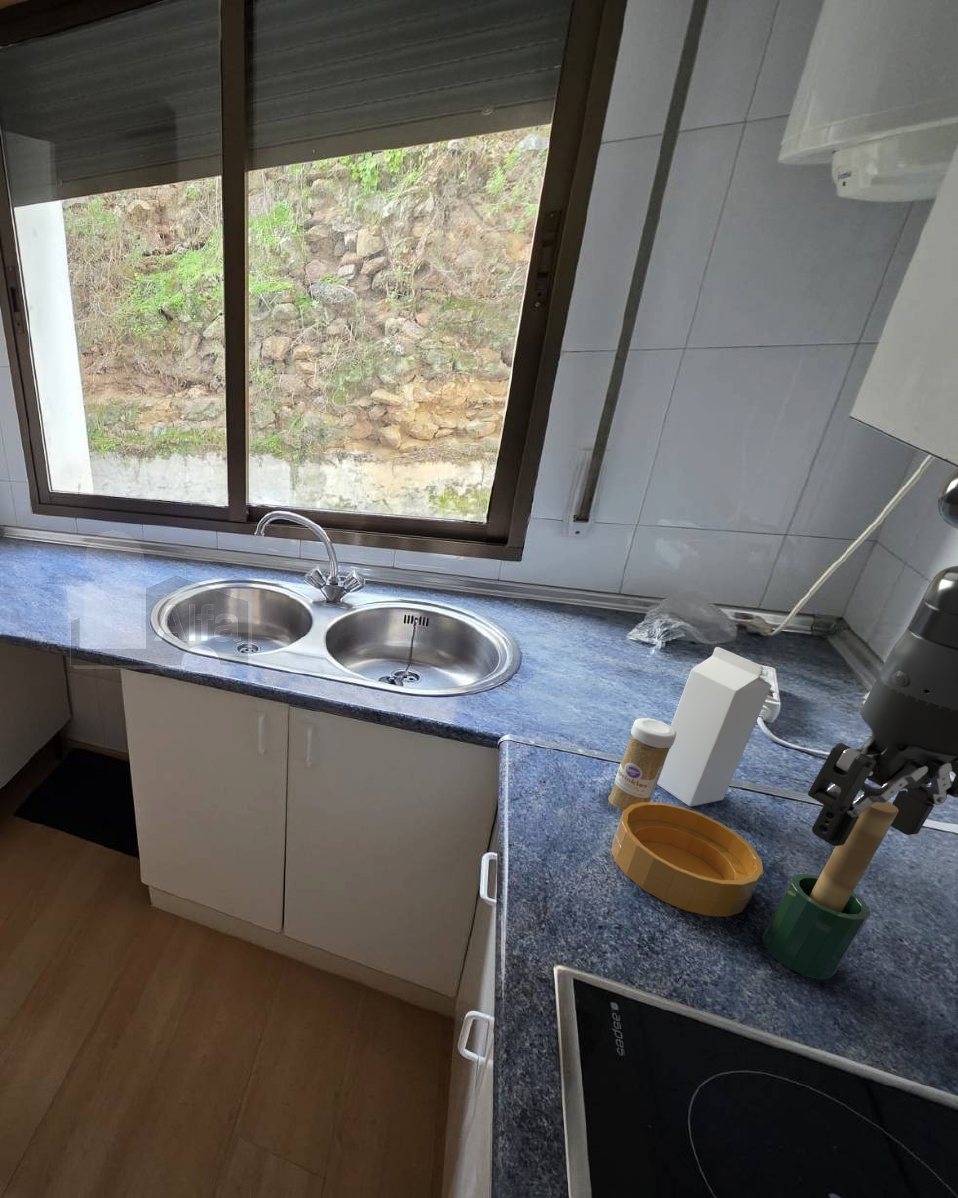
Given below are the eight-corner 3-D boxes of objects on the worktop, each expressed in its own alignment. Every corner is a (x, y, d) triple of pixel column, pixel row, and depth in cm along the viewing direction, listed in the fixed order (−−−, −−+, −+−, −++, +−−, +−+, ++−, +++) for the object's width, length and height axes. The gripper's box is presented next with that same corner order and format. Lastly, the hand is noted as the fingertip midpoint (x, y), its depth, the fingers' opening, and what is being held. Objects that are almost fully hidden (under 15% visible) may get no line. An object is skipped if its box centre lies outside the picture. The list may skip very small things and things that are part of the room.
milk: (682, 774, 94) (733, 643, 86) (724, 801, 89) (782, 663, 81) (649, 780, 93) (697, 647, 85) (689, 807, 88) (745, 669, 79)
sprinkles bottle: (603, 806, 88) (630, 725, 83) (612, 791, 91) (639, 712, 86) (642, 823, 85) (673, 740, 80) (650, 807, 88) (680, 726, 83)
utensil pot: (814, 943, 68) (849, 882, 65) (845, 990, 63) (884, 926, 60) (750, 928, 70) (780, 867, 66) (775, 972, 65) (809, 909, 62)
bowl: (718, 850, 81) (733, 816, 78) (768, 935, 69) (786, 898, 67) (598, 824, 85) (609, 792, 83) (627, 901, 74) (640, 865, 71)
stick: (806, 947, 67) (888, 798, 59) (818, 967, 65) (905, 815, 57) (777, 940, 68) (855, 792, 60) (789, 960, 66) (871, 809, 58)
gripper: (933, 720, 49) (847, 874, 56) (1073, 703, 51) (974, 853, 58) (826, 673, 56) (759, 815, 62) (952, 660, 58) (876, 799, 65)
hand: (863, 834), depth 60 cm, fingers open, 8 cm apart
